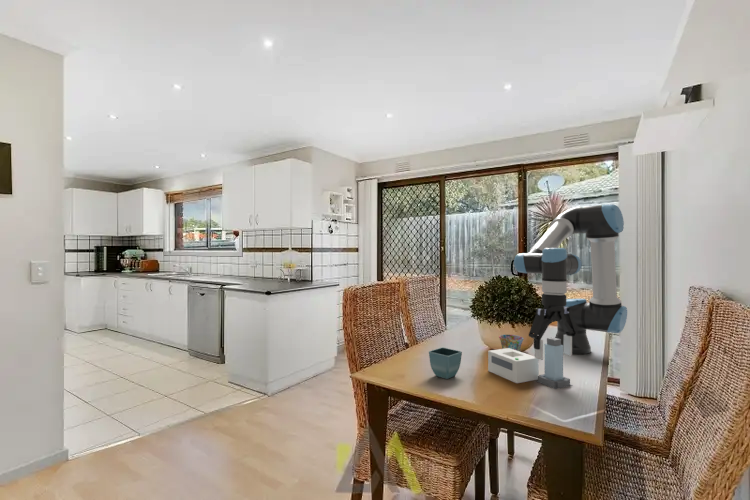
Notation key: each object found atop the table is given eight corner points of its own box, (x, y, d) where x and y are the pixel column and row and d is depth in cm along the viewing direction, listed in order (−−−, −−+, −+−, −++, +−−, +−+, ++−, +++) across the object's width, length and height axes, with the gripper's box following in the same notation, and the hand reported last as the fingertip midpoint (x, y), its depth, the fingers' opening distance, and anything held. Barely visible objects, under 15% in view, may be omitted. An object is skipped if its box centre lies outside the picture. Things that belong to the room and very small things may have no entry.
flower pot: (442, 370, 139) (442, 346, 139) (462, 376, 133) (462, 351, 133) (428, 376, 133) (428, 351, 133) (448, 382, 126) (448, 356, 126)
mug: (528, 366, 144) (528, 339, 144) (507, 368, 142) (507, 340, 142) (510, 357, 156) (510, 332, 156) (491, 358, 154) (491, 333, 154)
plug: (553, 380, 127) (553, 336, 127) (563, 384, 123) (563, 339, 123) (544, 382, 125) (544, 338, 125) (554, 386, 121) (554, 340, 121)
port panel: (508, 368, 141) (508, 346, 141) (538, 380, 128) (538, 356, 128) (487, 372, 137) (487, 349, 137) (516, 385, 124) (516, 360, 124)
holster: (552, 379, 129) (552, 372, 129) (572, 387, 122) (572, 379, 122) (535, 382, 126) (535, 375, 126) (555, 390, 119) (555, 383, 119)
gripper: (569, 291, 132) (569, 350, 132) (517, 293, 122) (517, 357, 122) (589, 293, 126) (589, 355, 125) (535, 296, 115) (535, 363, 115)
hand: (553, 356), depth 124 cm, fingers open, 13 cm apart
